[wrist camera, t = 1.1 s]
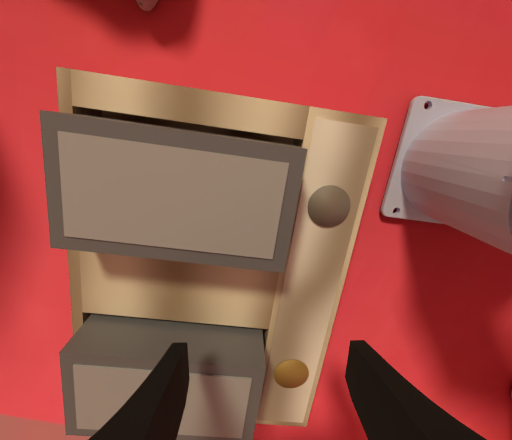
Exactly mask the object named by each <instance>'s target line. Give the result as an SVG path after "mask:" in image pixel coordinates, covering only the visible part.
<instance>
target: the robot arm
mask: <svg viewBox="0 0 512 440" xmlns="http://www.w3.org/2000/svg"><path fill="white" fill-rule="evenodd" d="M425 102H427V103H428V108H427V109H425V108H424V104H425ZM394 208H397V211H396V212H395V213H393V209H394ZM380 211H381V213H382V214H383V215H384V216H386V217H392V218H400V219H408V220H416V221H424V222H431V223H439V224H446V225H448V226H450V227H452V228H455V229H457V230H459V231H461V232H463V233H465V234H468V235H470V236H472V237H474V238H476V239H478V240H480V241H483V242H485V243H487V244H489V245H491V246H493V247H496V248H498V249H500V250H502V251H504V252H506V253H509V254H511V255H512V106H503V107H487V106H481V105H475V104H469V103H463V102H457V101H451V100H445V99H439V98H433V97H427V96H417V97H415V98H413V99H412V100H411V102H410V105H409V109H408V112H407V116H406V120H405V123H404V127H403V130H402V134H401V137H400V141H399V144H398V148H397V152H396V155H395V159H394V162H393V166H392V169H391V173H390V176H389V180H388V184H387V187H386V191H385V194H384V198H383V201H382V205H381V209H380ZM345 378H346V382H347V385H348V389H349V392H350V395H351V398H352V402H353V404H354V406H355V409H356V411H357V414H358V416H359V418H360V421H361V423H362V426H363V428H364V430H365V433H366V435H367V437H368V440H486V439H485V438H483V437H482V436H480V435H479V434H477V433H476V432H474V431H473V430H471V429H470V428H468V427H467V426H465V425H464V424H462V423H461V422H459V421H458V420H456V419H455V418H454V417H452V416H451V415H450V414H448V413H447V412H446V411H444V410H443V409H442V408H440V407H439V406H437V405H436V404H435V403H434V402H432V401H431V400H430V399H429V398H427V397H426V396H425V395H424V394H423V393H421V392H420V391H419V390H418V389H416V388H415V387H414V386H413V385H412V384H411V383H409V382H408V381H407V380H406V379H405V378H404V377H403V376H402V375H400V374H399V373H398V372H397V371H396V370H395V369H394V368H393V367H392V366H391V365H390V364H388V363H387V362H386V361H385V360H384V359H383V358H382V357H381V356H380V355H379V354H378V353H377V352H376V351H375V350H374V349H373V348H372V347H371V346H370V345H368V344H367V343H366V342H365V341H364V340H356V341H350V348H349V354H348V361H347V368H346V375H345ZM189 380H190V377H189V362H188V347H187V342H180V343H172V344H171V345H170V346H169V348H168V349H167V351H166V352H165V354H164V355H163V357H162V358H161V359H160V361H159V362H158V363H157V365H156V366H155V367H154V369H153V370H152V371H151V373H150V374H149V375H148V376H147V378H146V379H145V380H144V382H143V383H142V384H141V385H140V386H139V388H138V389H137V390H136V391H135V392H134V393H133V395H132V396H131V397H130V398H129V399H128V400H127V401H126V403H125V404H124V405H123V406H122V407H121V408H120V409H119V410H118V411H117V412H116V413H115V414H114V415H113V416H112V417H111V418H110V419H109V420H108V421H107V422H106V423H105V424H104V425H103V426H102V427H101V428H100V429H99V430H98V431H97V432H96V433H95V434H94V435H93V436H92V437H91V438H90V439H89V440H176V439H177V435H178V431H179V428H180V424H181V420H182V416H183V413H184V409H185V405H186V399H187V393H188V387H189Z"/></svg>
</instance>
